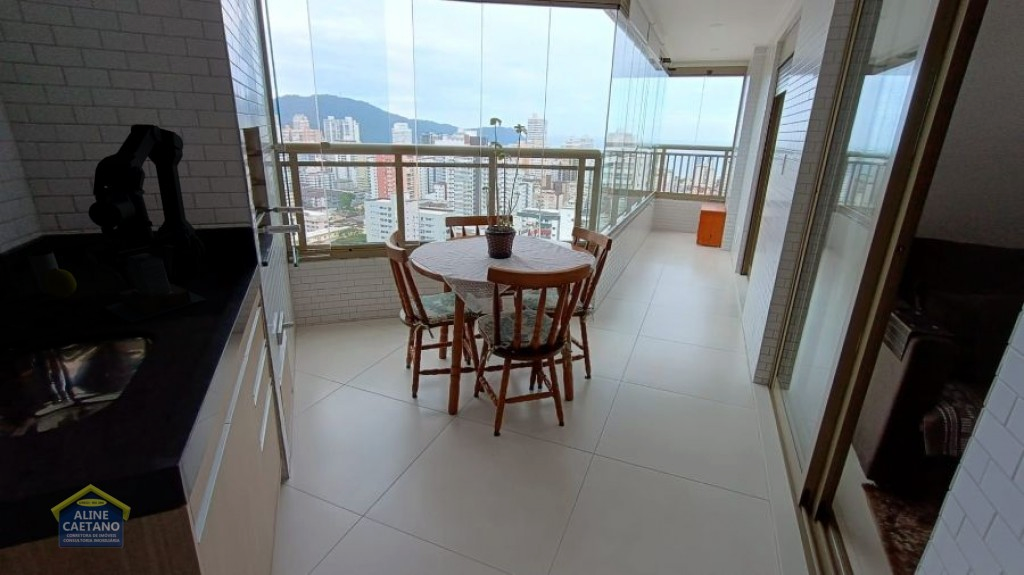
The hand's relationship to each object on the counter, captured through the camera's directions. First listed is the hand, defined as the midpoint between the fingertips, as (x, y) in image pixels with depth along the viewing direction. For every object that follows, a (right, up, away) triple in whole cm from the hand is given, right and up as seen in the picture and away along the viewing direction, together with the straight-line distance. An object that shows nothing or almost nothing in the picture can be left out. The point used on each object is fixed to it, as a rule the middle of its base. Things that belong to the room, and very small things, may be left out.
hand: (150, 280), depth 110 cm
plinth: (0, -6, +2) cm, 6 cm away
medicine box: (0, -3, +1) cm, 3 cm away
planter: (-32, -3, +8) cm, 33 cm away
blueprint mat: (0, -6, +2) cm, 6 cm away
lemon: (-25, -5, +4) cm, 25 cm away
